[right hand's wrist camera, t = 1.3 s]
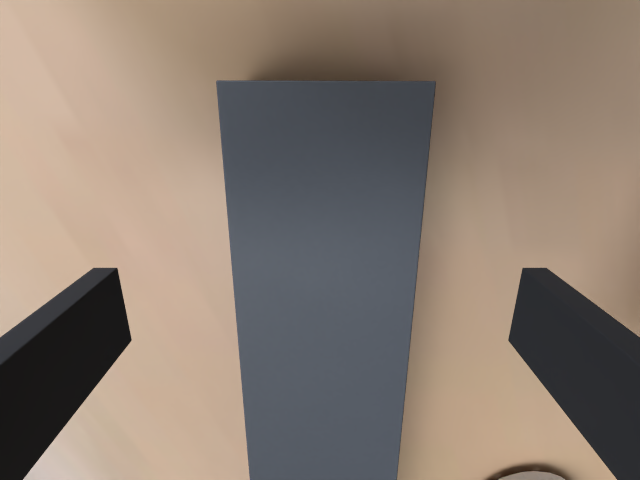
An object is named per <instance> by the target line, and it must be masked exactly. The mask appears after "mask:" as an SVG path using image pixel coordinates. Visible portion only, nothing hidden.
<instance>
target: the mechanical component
mask: <svg viewBox="0 0 640 480" xmlns="http://www.w3.org/2000/svg"><path fill="white" fill-rule="evenodd" d="M498 480H565V479H564V478H562V477H560V476H558V475H555V474H552V473H548V472H539V471H529V472H520V473H516V474H512V475H509V476H506V477H503V478H500V479H498Z"/></svg>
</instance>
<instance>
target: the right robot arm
mask: <svg viewBox="0 0 640 480" xmlns="http://www.w3.org/2000/svg"><path fill="white" fill-rule="evenodd" d="M130 342H131V335H130V330H129V325H128V320H127V314H126V309H125V304H124V299H123V294H122V289H121V284H120V279H119V274H118V269H117V268H93V269H92V270H90V271H89V272H88V273H86V274H85V275H84V276H82V277H81V278H79V279H78V280H77V281H75V282H74V283H73V284H71V285H70V286H69V287H67V288H66V289H65V290H63V291H62V292H61V293H59V294H58V295H57V296H55V297H54V298H53V299H51V300H50V301H49V302H47V303H46V304H45V305H43V306H42V307H41V308H39V309H38V310H37V311H35V312H34V313H32V314H31V315H30V316H28V317H27V318H26V319H24V320H23V321H22V322H20V323H19V324H18V325H16V326H15V327H14V328H12V329H11V330H10V331H8V332H7V333H6V334H4V335H3V336H2V337H0V480H23V479H24V477H25V476H26V475H27V474H28V472H29V471H30V470H31V468H32V467H33V466H34V465H35V463H36V462H37V461H38V459H39V458H40V457H41V456H42V454H43V453H44V452H45V450H46V449H47V448H48V447H49V445H50V444H51V443H52V442H53V440H54V439H55V438H56V436H57V435H58V434H59V433H60V431H61V430H62V429H63V427H64V426H65V425H66V424H67V422H68V421H69V420H70V419H71V417H72V416H73V415H74V413H75V412H76V411H77V410H78V408H79V407H80V406H81V404H82V403H83V402H84V401H85V399H86V398H87V397H88V395H89V394H90V393H91V392H92V390H93V389H94V388H95V387H96V385H97V384H98V383H99V381H100V380H101V379H102V378H103V376H104V375H105V374H106V372H107V371H108V370H109V369H110V367H111V366H112V365H113V363H114V362H115V361H116V360H117V358H118V357H119V356H120V355H121V353H122V352H123V351H124V349H125V348H126V347H127V346H128V344H129V343H130ZM509 342H510V343H511V344H512V346H513V347H514V348H515V349H516V351H517V352H518V353H519V355H520V356H521V357H522V358H523V360H524V361H525V362H526V363H527V365H528V366H529V367H530V369H531V370H532V371H533V372H534V374H535V375H536V376H537V378H538V379H539V380H540V381H541V383H542V384H543V385H544V387H545V388H546V389H547V390H548V392H549V393H550V394H551V395H552V397H553V398H554V399H555V401H556V402H557V403H558V404H559V406H560V407H561V408H562V410H563V411H564V412H565V413H566V415H567V416H568V417H569V419H570V420H571V421H572V422H573V424H574V425H575V426H576V427H577V429H578V430H579V431H580V433H581V434H582V435H583V436H584V438H585V439H586V440H587V442H588V443H589V444H590V445H591V447H592V448H593V449H594V450H595V452H596V453H597V454H598V456H599V457H600V458H601V459H602V461H603V462H604V463H605V465H606V466H607V467H608V468H609V470H610V471H611V472H612V474H613V475H614V476H615V477H616V479H617V480H640V337H638V336H637V335H636V334H634V333H633V332H632V331H630V330H629V329H628V328H626V327H625V326H624V325H622V324H621V323H620V322H618V321H617V320H616V319H614V318H613V317H612V316H610V315H609V314H608V313H606V312H605V311H603V310H602V309H601V308H599V307H598V306H597V305H595V304H594V303H593V302H591V301H590V300H589V299H587V298H586V297H585V296H583V295H582V294H581V293H579V292H578V291H577V290H575V289H574V288H573V287H571V286H570V285H569V284H567V283H566V282H565V281H563V280H562V279H561V278H559V277H558V276H556V275H555V274H554V273H552V272H551V271H550V270H548V269H547V268H523V269H522V274H521V279H520V284H519V289H518V294H517V299H516V304H515V309H514V314H513V320H512V325H511V330H510V335H509Z"/></svg>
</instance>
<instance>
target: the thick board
mask: <svg viewBox="0 0 640 480" xmlns="http://www.w3.org/2000/svg"><path fill="white" fill-rule="evenodd" d="M216 84H217V96H218V108H219V119H220V131H221V143H222V155H223V167H224V179H225V190H226V202H227V214H228V226H229V238H230V250H231V261H232V273H233V285H234V297H235V309H236V321H237V332H238V344H239V356H240V368H241V380H242V392H243V403H244V415H245V427H246V439H247V451H248V463H249V474H250V480H397V471H398V461H399V451H400V441H401V430H402V420H403V410H404V400H405V390H406V380H407V369H408V359H409V349H410V339H411V329H412V319H413V309H414V298H415V288H416V278H417V268H418V258H419V248H420V237H421V227H422V217H423V207H424V197H425V187H426V176H427V166H428V156H429V146H430V136H431V126H432V115H433V105H434V95H435V85H436V82H435V81H217V82H216Z"/></svg>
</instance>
